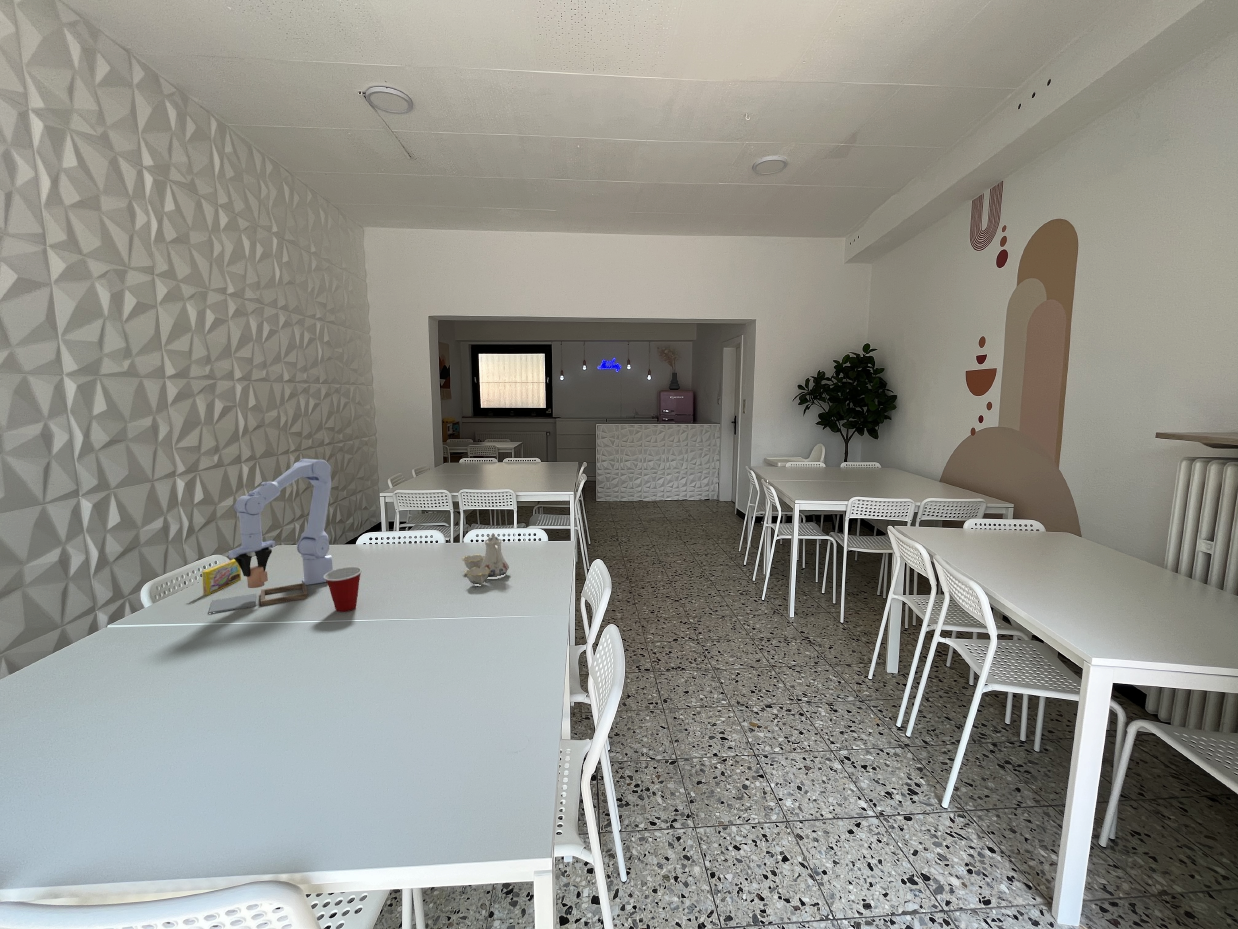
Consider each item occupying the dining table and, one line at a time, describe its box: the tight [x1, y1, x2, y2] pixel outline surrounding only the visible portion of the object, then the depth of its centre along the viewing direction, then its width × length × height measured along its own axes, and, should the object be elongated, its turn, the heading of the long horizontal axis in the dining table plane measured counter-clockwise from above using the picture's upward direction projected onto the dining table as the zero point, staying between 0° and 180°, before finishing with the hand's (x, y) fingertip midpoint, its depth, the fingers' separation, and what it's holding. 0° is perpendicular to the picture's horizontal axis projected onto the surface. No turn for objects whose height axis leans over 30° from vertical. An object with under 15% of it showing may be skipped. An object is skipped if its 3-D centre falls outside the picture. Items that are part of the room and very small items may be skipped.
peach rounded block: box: [246, 565, 268, 589], centre depth 182 cm, size 6×5×6 cm
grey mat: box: [208, 593, 257, 614], centre depth 180 cm, size 12×12×1 cm
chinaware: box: [461, 533, 510, 587], centre depth 206 cm, size 28×17×17 cm, turn 24°
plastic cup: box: [324, 566, 362, 613], centre depth 175 cm, size 11×11×12 cm
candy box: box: [201, 558, 242, 596], centre depth 196 cm, size 16×2×8 cm, turn 179°
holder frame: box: [260, 582, 308, 606], centre depth 188 cm, size 13×13×2 cm
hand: (254, 573), depth 183 cm, fingers closed on peach rounded block, 5 cm apart
